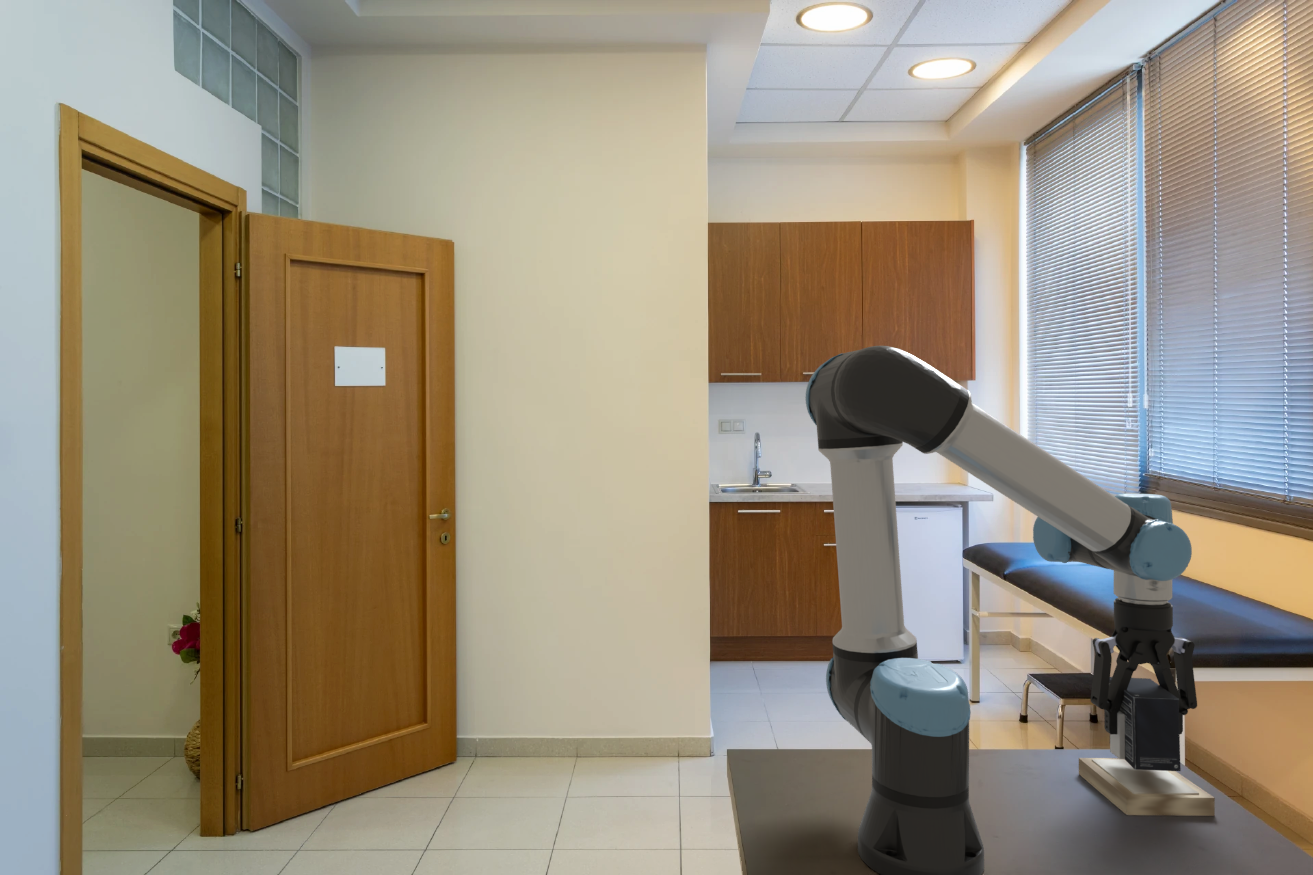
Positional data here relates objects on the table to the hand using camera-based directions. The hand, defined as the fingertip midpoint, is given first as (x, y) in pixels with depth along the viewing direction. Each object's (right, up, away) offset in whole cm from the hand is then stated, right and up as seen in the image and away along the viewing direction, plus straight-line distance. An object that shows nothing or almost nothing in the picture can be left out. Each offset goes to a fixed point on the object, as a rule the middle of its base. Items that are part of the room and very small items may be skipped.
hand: (1143, 755), depth 123 cm
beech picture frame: (0, -6, 0) cm, 6 cm away
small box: (0, -1, 0) cm, 1 cm away
